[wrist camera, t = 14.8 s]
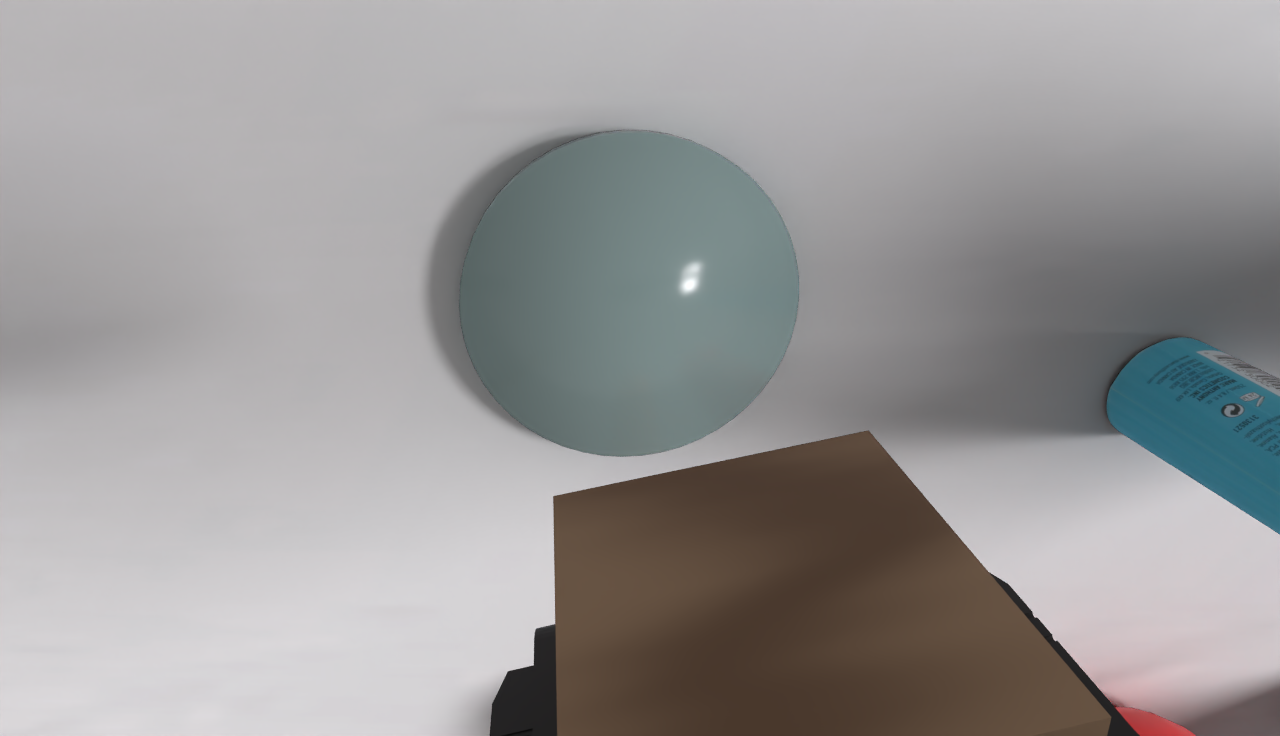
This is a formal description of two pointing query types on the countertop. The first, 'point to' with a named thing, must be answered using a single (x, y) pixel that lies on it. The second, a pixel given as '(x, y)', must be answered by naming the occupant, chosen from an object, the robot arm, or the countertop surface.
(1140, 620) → the countertop surface
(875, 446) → the block
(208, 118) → the countertop surface
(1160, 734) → the teapot
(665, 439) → the dish
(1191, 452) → the tube
